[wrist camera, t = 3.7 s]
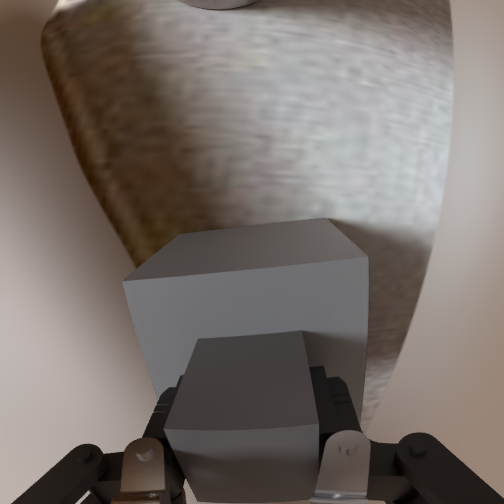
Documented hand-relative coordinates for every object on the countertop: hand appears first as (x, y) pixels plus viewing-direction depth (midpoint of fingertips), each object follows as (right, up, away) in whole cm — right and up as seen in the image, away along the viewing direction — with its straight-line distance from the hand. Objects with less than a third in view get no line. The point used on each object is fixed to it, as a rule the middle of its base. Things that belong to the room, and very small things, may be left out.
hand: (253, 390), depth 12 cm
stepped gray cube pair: (0, +2, +9) cm, 10 cm away
